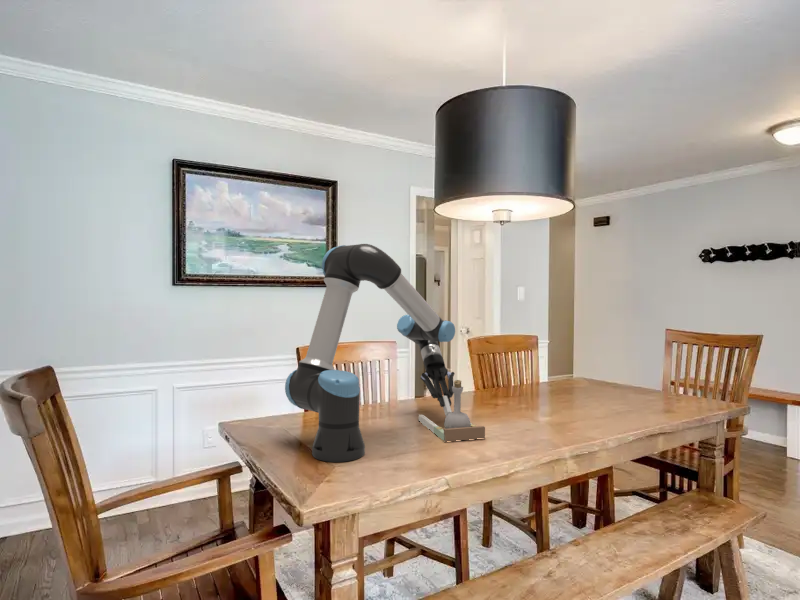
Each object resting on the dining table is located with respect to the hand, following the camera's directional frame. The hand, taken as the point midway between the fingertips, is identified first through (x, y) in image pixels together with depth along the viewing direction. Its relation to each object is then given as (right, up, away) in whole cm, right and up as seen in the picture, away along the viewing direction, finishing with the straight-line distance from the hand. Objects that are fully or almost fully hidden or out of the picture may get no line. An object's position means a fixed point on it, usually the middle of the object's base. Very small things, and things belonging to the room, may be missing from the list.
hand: (448, 414), depth 166 cm
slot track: (0, -5, -1) cm, 5 cm away
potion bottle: (+2, -6, -7) cm, 9 cm away
